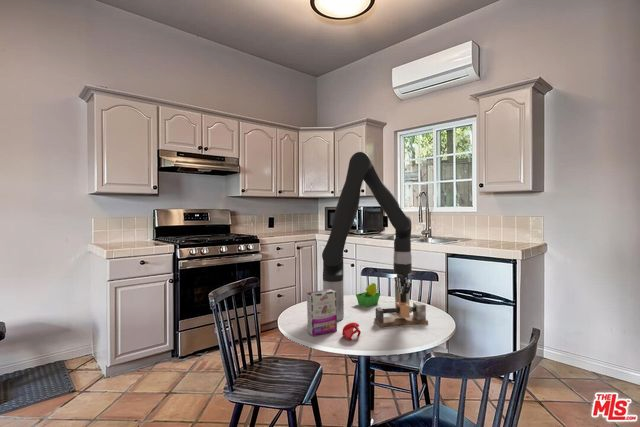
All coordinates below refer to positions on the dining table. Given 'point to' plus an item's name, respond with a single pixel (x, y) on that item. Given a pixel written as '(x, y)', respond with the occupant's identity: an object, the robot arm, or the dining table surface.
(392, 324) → the rail
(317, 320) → the candy bar box
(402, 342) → the dining table surface
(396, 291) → the skincare box
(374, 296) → the fruit basket
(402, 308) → the sleeve
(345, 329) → the red toy helmet
